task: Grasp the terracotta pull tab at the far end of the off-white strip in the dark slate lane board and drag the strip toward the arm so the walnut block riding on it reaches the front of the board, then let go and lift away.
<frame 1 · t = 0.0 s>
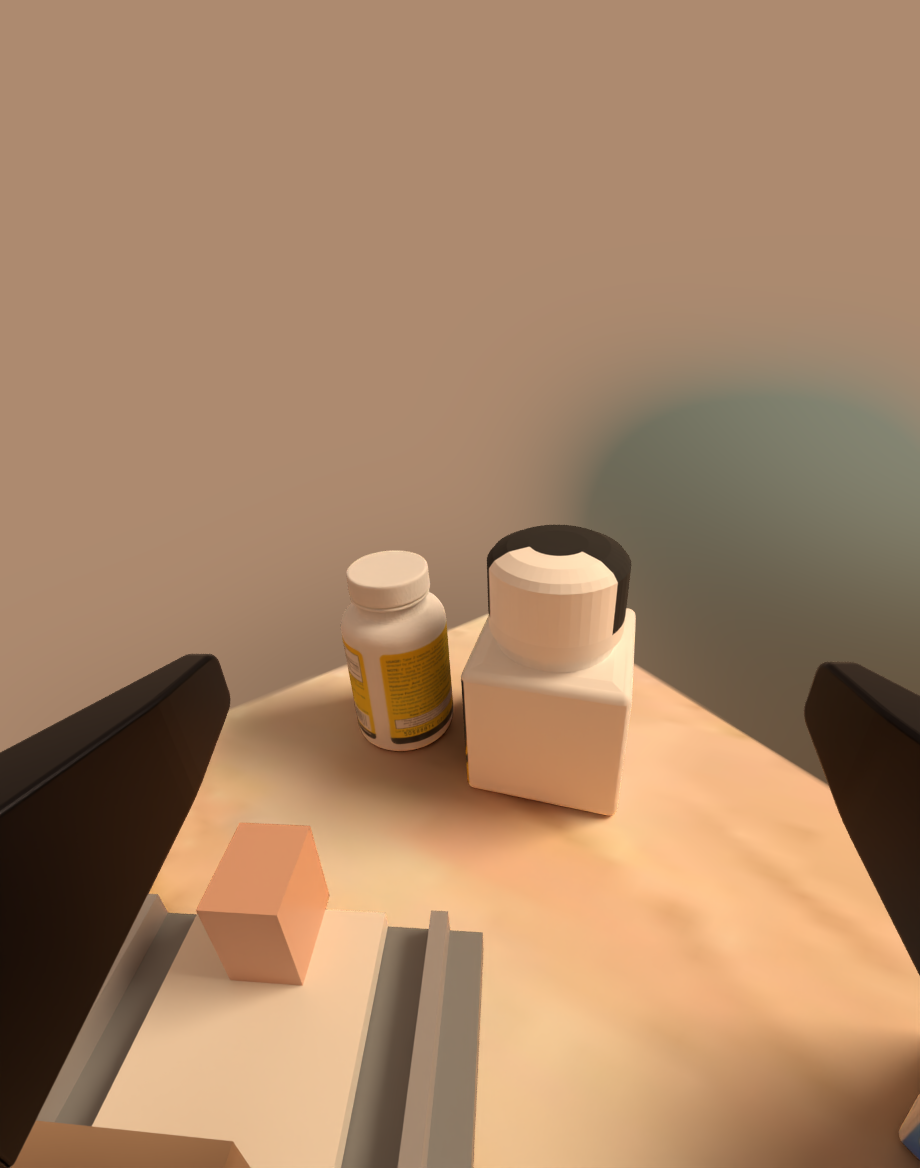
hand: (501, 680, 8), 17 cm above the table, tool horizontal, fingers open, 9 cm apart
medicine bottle: (549, 752, 29), on the table
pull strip: (185, 1141, 14), point 3 cm above the table, slide at 0.0 cm, touching walnut block
supplement bottle: (406, 721, 32), on the table
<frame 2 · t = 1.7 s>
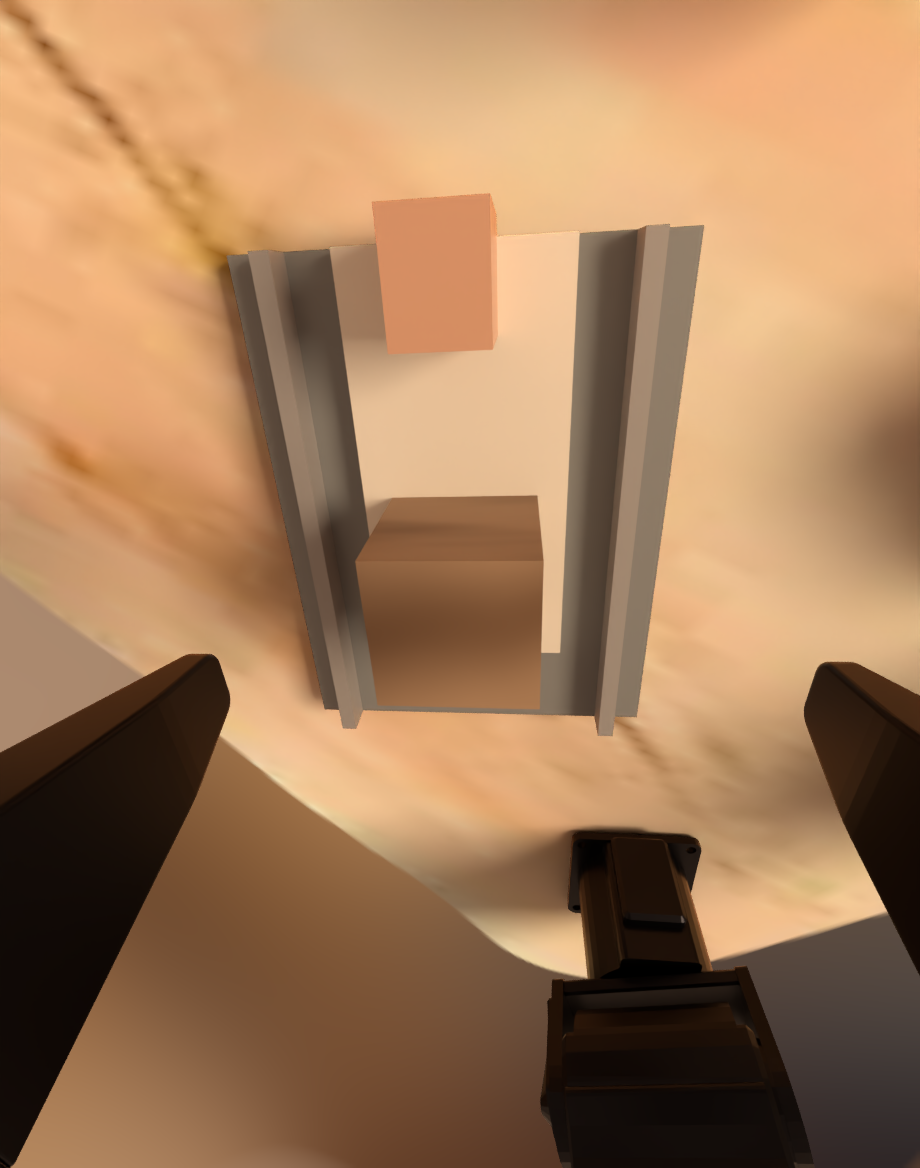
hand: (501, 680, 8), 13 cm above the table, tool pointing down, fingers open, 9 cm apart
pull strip: (458, 491, 17), point 3 cm above the table, slide at 0.0 cm, touching walnut block
walnut block: (466, 561, 20), point 2 cm above the table, touching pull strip
lane board: (469, 516, 21), on the table
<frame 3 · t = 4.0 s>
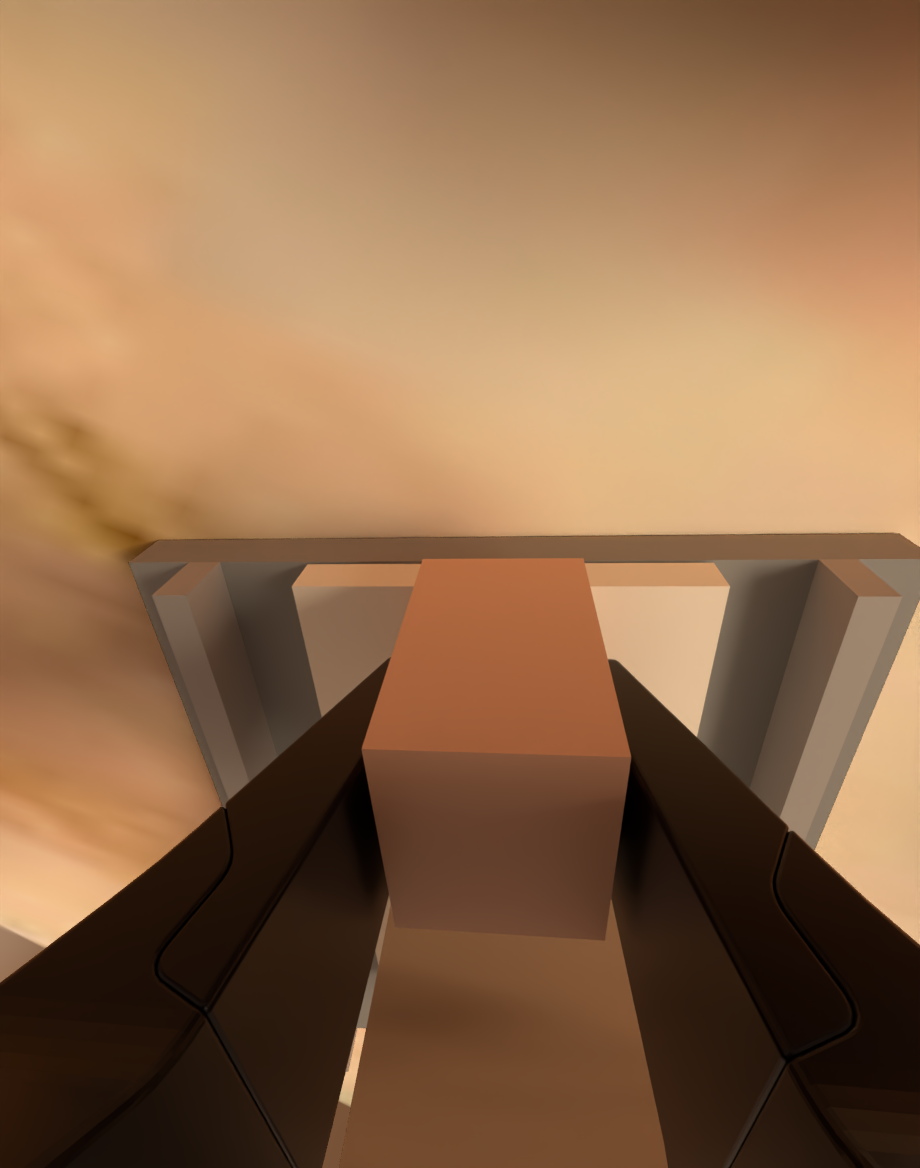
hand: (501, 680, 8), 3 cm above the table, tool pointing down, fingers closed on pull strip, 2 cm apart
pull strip: (504, 927, 11), point 4 cm above the table, slide at 0.0 cm, touching gripper, walnut block
walnut block: (506, 934, 14), point 2 cm above the table, touching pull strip
lane board: (507, 840, 15), on the table
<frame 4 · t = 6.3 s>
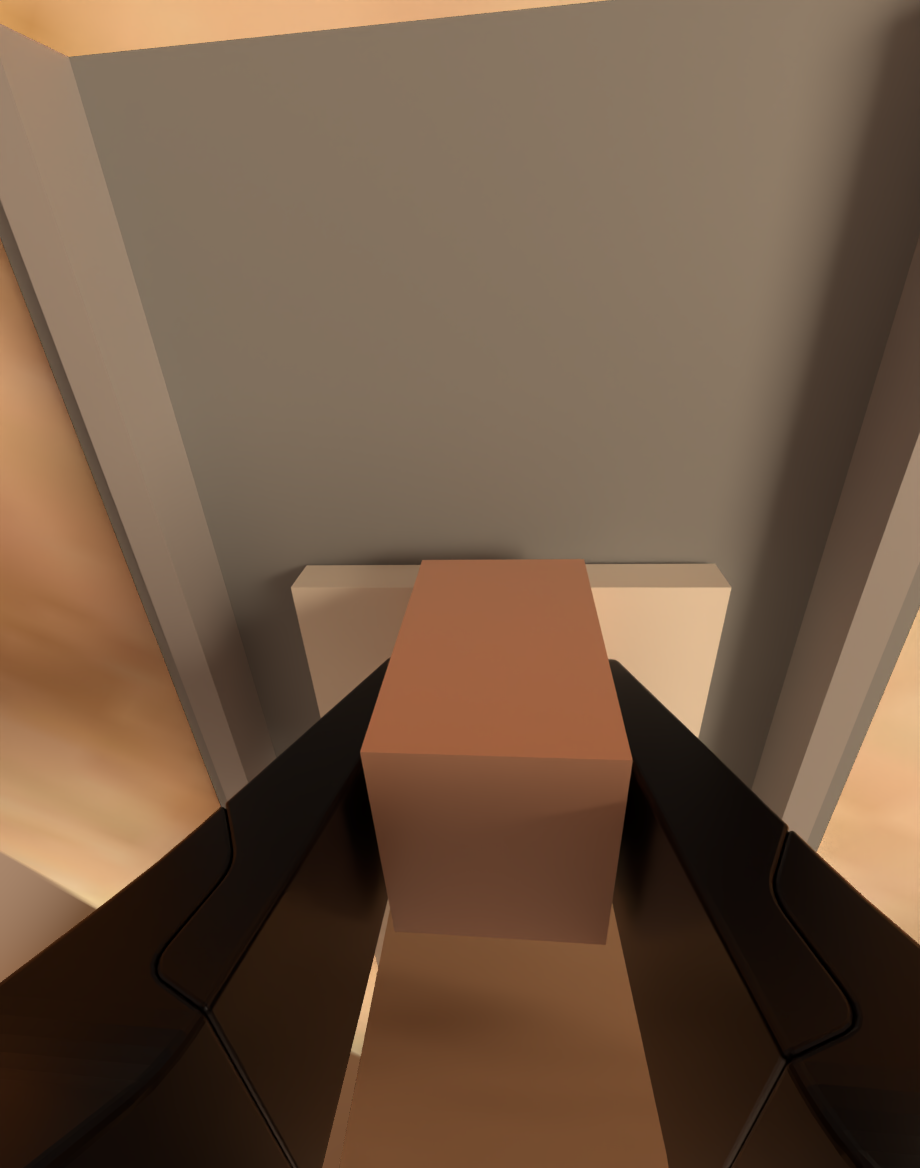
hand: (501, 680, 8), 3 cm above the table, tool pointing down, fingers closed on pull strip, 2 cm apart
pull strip: (504, 930, 11), point 4 cm above the table, slide at 6.9 cm, touching gripper, walnut block
walnut block: (507, 937, 14), point 2 cm above the table, touching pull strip
lane board: (505, 629, 11), on the table
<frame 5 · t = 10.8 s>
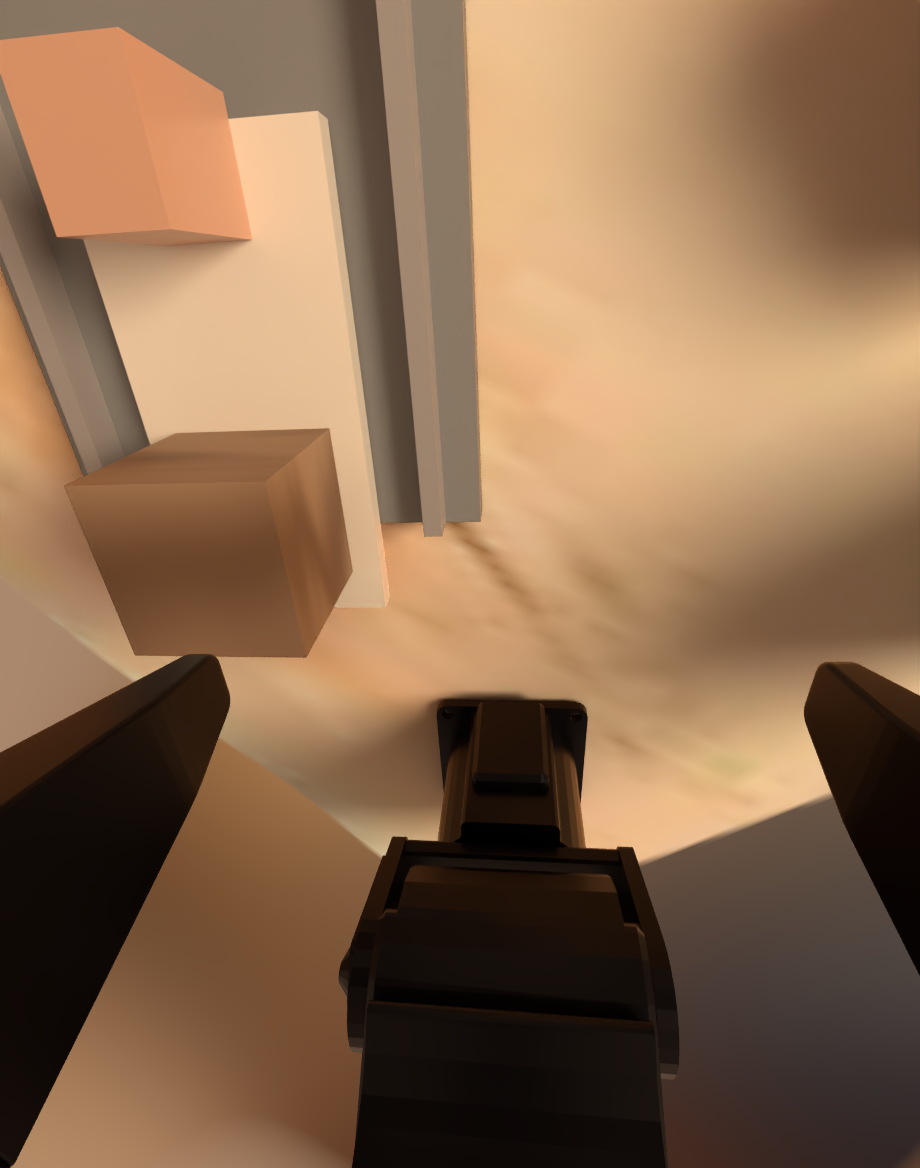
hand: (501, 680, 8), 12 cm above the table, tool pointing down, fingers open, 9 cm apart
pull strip: (221, 417, 15), point 3 cm above the table, slide at 7.0 cm, touching walnut block
walnut block: (269, 505, 18), point 2 cm above the table, touching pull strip
lane board: (234, 227, 16), on the table
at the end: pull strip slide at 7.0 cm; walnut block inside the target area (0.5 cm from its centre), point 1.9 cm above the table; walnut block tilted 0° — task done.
